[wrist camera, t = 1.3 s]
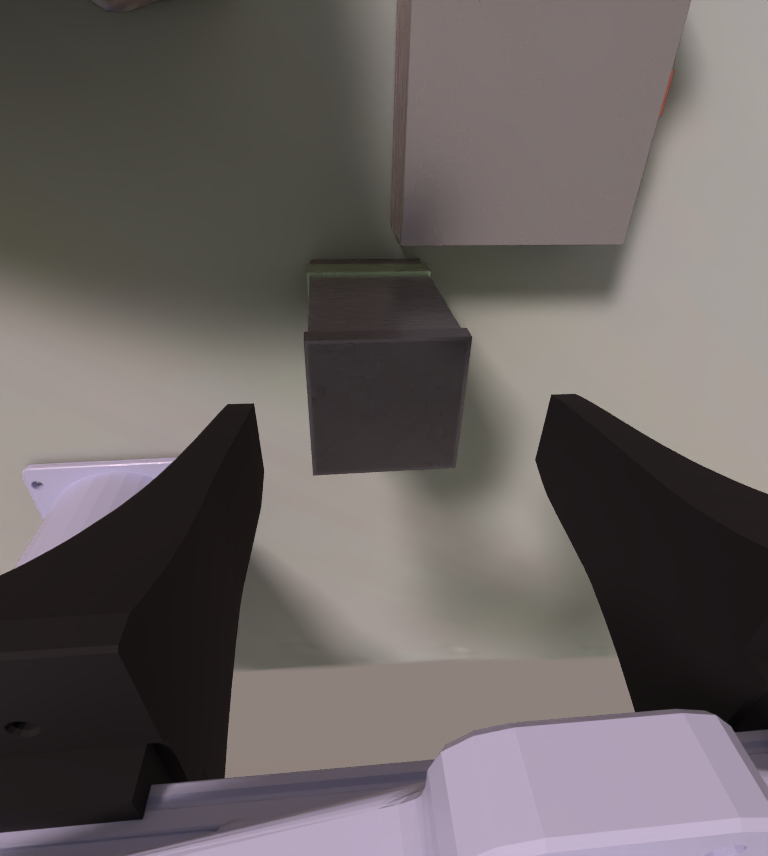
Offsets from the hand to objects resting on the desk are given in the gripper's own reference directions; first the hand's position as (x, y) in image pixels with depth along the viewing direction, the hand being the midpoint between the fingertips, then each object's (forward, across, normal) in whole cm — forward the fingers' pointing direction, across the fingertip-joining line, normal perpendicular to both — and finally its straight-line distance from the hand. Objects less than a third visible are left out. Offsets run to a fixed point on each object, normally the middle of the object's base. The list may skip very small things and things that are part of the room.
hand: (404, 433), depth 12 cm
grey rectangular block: (+10, 0, +1) cm, 11 cm away
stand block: (+11, -5, -7) cm, 14 cm away
